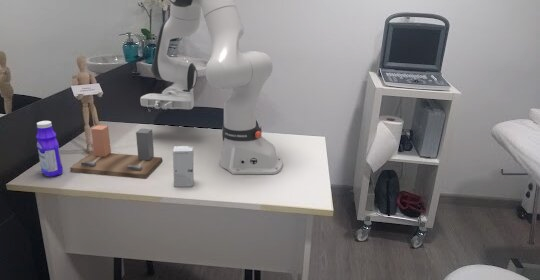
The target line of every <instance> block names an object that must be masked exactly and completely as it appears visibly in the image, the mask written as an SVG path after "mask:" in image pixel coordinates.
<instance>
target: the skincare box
mask: <svg viewBox="0 0 540 280" xmlns="http://www.w3.org/2000/svg"><path fill="white" fill-rule="evenodd" d="M172 157H173V159H172V160H173V163H172V164H173V165H172V166H173V169H172V170H173V187H175V188H177V187H178V188H179V187H180V188H182V187H189V188H191V187H194V180H195V179H194V178H195V177H194V174H195V173H194V146H191V145H188V146H187V145H180V146H177V145H176V146H175V145H174V146H173V150H172Z"/></svg>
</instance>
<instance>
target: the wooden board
mask: <svg viewBox="0 0 540 280" xmlns="http://www.w3.org/2000/svg"><path fill="white" fill-rule="evenodd" d="M162 162H163V157H160V156H159V157H158V156H154V157H153V158H152V159H151V160H150V161H149V160H138V154H137V155H136V154H125V153H115V152H113V153H112V152H111V153H110V154H108V155H107V156H106V157H103V156H95V155H94V151H91V152H90V153H89V154H87V155H86V156H85V157H82V158H81V159H80V160H79V161H77V162H76V163H74V164H73V165H72V166H70V168H69V170H70V172H71V173H79V174H80V173H81V174H92V175H102V176H113V177H125V178H135V179H148V178H149V177H150V175H151V174H152V173H153V172H155V170H156V169H157V167H159V166H160V164H162Z"/></svg>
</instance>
